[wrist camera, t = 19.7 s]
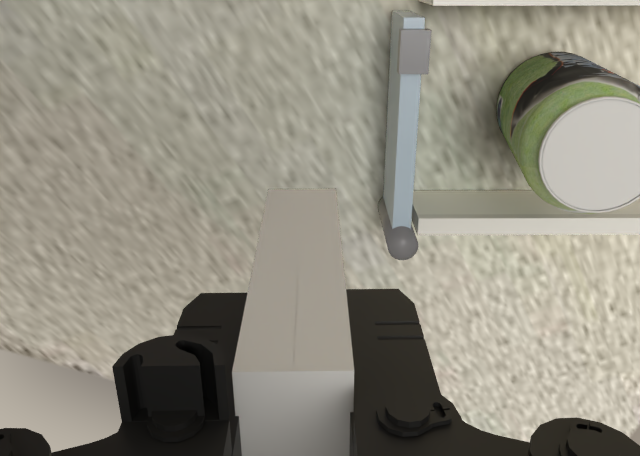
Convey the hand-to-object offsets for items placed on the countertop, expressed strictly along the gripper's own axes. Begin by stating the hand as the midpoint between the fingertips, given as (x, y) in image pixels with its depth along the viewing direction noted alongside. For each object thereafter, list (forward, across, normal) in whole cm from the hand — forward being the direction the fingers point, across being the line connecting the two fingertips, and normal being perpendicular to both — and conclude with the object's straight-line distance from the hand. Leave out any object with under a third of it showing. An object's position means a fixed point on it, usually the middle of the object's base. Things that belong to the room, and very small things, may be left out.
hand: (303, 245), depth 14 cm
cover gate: (+23, +5, -3) cm, 24 cm away
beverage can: (+23, +13, -2) cm, 27 cm away
